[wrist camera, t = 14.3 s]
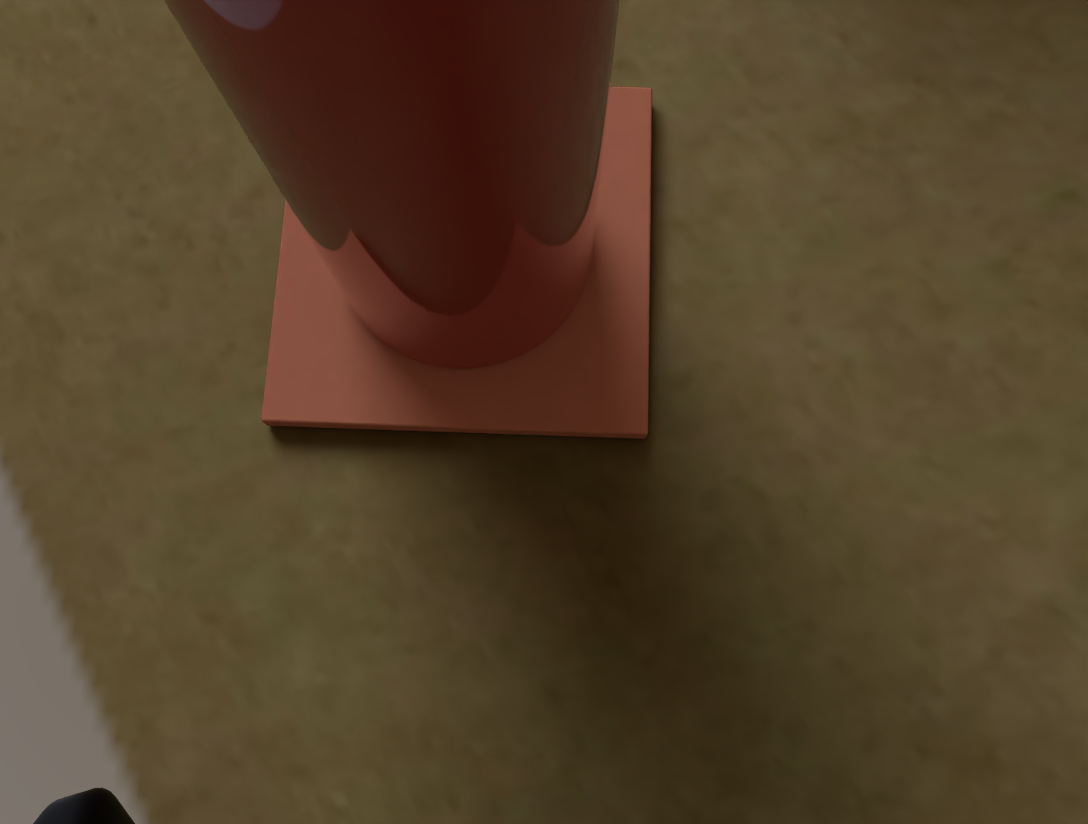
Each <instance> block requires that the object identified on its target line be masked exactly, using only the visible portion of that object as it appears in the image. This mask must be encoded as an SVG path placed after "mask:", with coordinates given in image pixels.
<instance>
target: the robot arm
mask: <svg viewBox="0 0 1088 824" xmlns="http://www.w3.org/2000/svg"><path fill="white" fill-rule="evenodd" d="M34 824H135V823H134V822H133V820H132V819H131V817H130V816H129V815H128V813H127V812H126V811H125V809H124V808H123V806H122V805H121V804H120V802H119V801H118V799H117V798H116V797H115V796H114V795H113V794H112V792H110V791H109V790H107V789H104V788H94V789H91V790H88V791H84V792H81V793H78V794H74V795H71V796H68V797H64V798H61V799H58V800H56V801H55V802H53V803H52V804H50V805H49V806H48V807H47V808H46V809H45V810H44V811H43V812H42V813H41V815H40V816H39V817H38V818H37V820H36V821H35V822H34Z"/></svg>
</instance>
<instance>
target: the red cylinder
mask: <svg viewBox="0 0 1088 824" xmlns="http://www.w3.org/2000/svg"><path fill="white" fill-rule="evenodd" d="M164 1H165V3H166V4H167V6H168V8H169V9H170V11H171V13H172V14H173V16H174V17H175V19H176V21H177V22H178V24H179V26H180V27H181V29H182V31H183V32H184V34H185V35H186V37H187V39H188V40H189V42H190V44H191V45H192V47H193V49H194V50H195V52H196V53H197V55H198V57H199V58H200V60H201V62H202V63H203V65H204V67H205V68H206V70H207V72H208V73H209V75H210V76H211V78H212V80H213V81H214V83H215V85H216V86H217V88H218V90H219V91H220V93H221V94H222V96H223V98H224V99H225V101H226V103H227V104H228V106H229V108H230V109H231V111H232V112H233V114H234V116H235V117H236V119H237V121H238V122H239V124H240V126H241V127H242V129H243V130H244V132H245V134H246V135H247V137H248V139H249V140H250V142H251V144H252V145H253V147H254V148H255V150H256V152H257V153H258V155H259V157H260V158H261V160H262V162H263V163H264V165H265V167H266V168H267V170H268V171H269V173H270V175H271V176H272V178H273V180H274V181H275V183H276V185H277V186H278V188H279V189H280V191H281V193H282V194H283V196H284V198H285V199H286V201H287V203H288V204H289V206H290V207H291V209H292V211H293V212H294V214H295V216H296V217H297V219H298V221H299V222H300V224H301V225H302V227H303V229H304V230H305V232H306V234H307V235H308V237H309V239H310V240H311V242H312V243H313V245H314V247H315V248H316V250H317V252H318V253H319V255H320V257H321V258H322V260H323V261H324V263H325V265H326V266H327V268H328V270H329V271H330V273H331V275H332V276H333V278H334V280H335V281H336V283H337V284H338V286H339V288H340V289H341V291H342V293H343V294H344V296H345V298H346V299H347V301H348V302H349V304H350V306H351V307H352V309H353V311H354V312H355V314H356V315H357V317H358V318H359V319H360V320H361V322H362V323H363V324H364V326H365V327H366V328H367V329H368V330H369V331H370V332H371V333H372V334H373V335H374V336H375V337H376V338H377V339H379V340H380V341H381V342H383V343H384V344H385V345H387V346H388V347H390V348H391V349H393V350H395V351H396V352H398V353H400V354H402V355H404V356H406V357H408V358H411V359H413V360H416V361H418V362H421V363H425V364H429V365H433V366H437V367H445V368H454V369H459V368H478V367H485V366H491V365H495V364H498V363H502V362H506V361H508V360H511V359H513V358H516V357H518V356H520V355H522V354H524V353H526V352H528V351H530V350H531V349H533V348H535V347H537V346H538V345H539V344H541V343H542V342H543V341H545V340H546V339H547V338H549V337H550V336H551V335H552V334H553V333H554V332H555V331H556V330H557V329H558V328H559V327H560V326H561V325H562V324H563V323H564V321H565V320H566V319H567V318H568V316H569V315H570V314H571V313H572V311H573V309H574V308H575V306H576V304H577V303H578V301H579V299H580V297H581V295H582V293H583V290H584V288H585V285H586V283H587V279H588V275H589V272H590V268H591V259H592V251H593V241H594V232H595V223H596V214H597V204H598V195H599V186H600V176H601V167H602V158H603V148H604V139H605V130H606V120H607V111H608V102H609V92H610V83H611V74H612V64H613V55H614V46H615V36H616V27H617V18H618V8H619V0H164Z"/></svg>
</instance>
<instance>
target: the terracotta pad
mask: <svg viewBox="0 0 1088 824" xmlns="http://www.w3.org/2000/svg"><path fill="white" fill-rule="evenodd" d="M651 142H652V89H651V88H637V87H610V92H609V102H608V111H607V120H606V130H605V139H604V148H603V158H602V167H601V176H600V186H599V195H598V204H597V214H596V223H595V232H594V241H593V251H592V259H591V268H590V272H589V275H588V279H587V283H586V285H585V288H584V290H583V293H582V295H581V297H580V299H579V301H578V303H577V304H576V306H575V308H574V309H573V311H572V313H571V314H570V315H569V316H568V318H567V319H566V320H565V321H564V323H563V324H562V325H561V326H560V327H559V328H558V329H557V330H556V331H555V332H554V333H553V334H552V335H551V336H550V337H549V338H547V339H546V340H545V341H543V342H542V343H541V344H539V345H538V346H537V347H535V348H533V349H531V350H530V351H528V352H526V353H524V354H522V355H520V356H518V357H516V358H513V359H511V360H508V361H506V362H502V363H498V364H495V365H491V366H485V367H478V368H459V369H454V368H445V367H437V366H433V365H429V364H425V363H421V362H418V361H416V360H413V359H411V358H408V357H406V356H404V355H402V354H400V353H398V352H396V351H395V350H393V349H391V348H390V347H388V346H387V345H385V344H384V343H383V342H381V341H380V340H379V339H377V338H376V337H375V336H374V335H373V334H372V333H371V332H370V331H369V330H368V329H367V328H366V327H365V326H364V324H363V323H362V322H361V320H360V319H359V318H358V317H357V315H356V314H355V312H354V311H353V309H352V307H351V306H350V304H349V302H348V301H347V299H346V298H345V296H344V294H343V293H342V291H341V289H340V288H339V286H338V284H337V283H336V281H335V280H334V278H333V276H332V275H331V273H330V271H329V270H328V268H327V266H326V265H325V263H324V261H323V260H322V258H321V257H320V255H319V253H318V252H317V250H316V248H315V247H314V245H313V243H312V242H311V240H310V239H309V237H308V235H307V234H306V232H305V230H304V229H303V227H302V225H301V224H300V222H299V221H298V219H297V217H296V216H295V214H294V212H293V211H292V209H291V207H290V206H289V204H288V203H287V201H286V200H285V209H284V218H283V227H282V236H281V245H280V255H279V264H278V273H277V282H276V291H275V300H274V309H273V318H272V327H271V336H270V345H269V355H268V364H267V373H266V382H265V391H264V400H263V409H262V418H261V420H262V422H264V423H265V424H266V425H268V426H293V427H322V428H350V429H379V430H407V431H436V432H464V433H493V434H521V435H550V436H579V437H607V438H636V439H644V438H646V436H647V434H648V393H649V310H650V226H651Z"/></svg>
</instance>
